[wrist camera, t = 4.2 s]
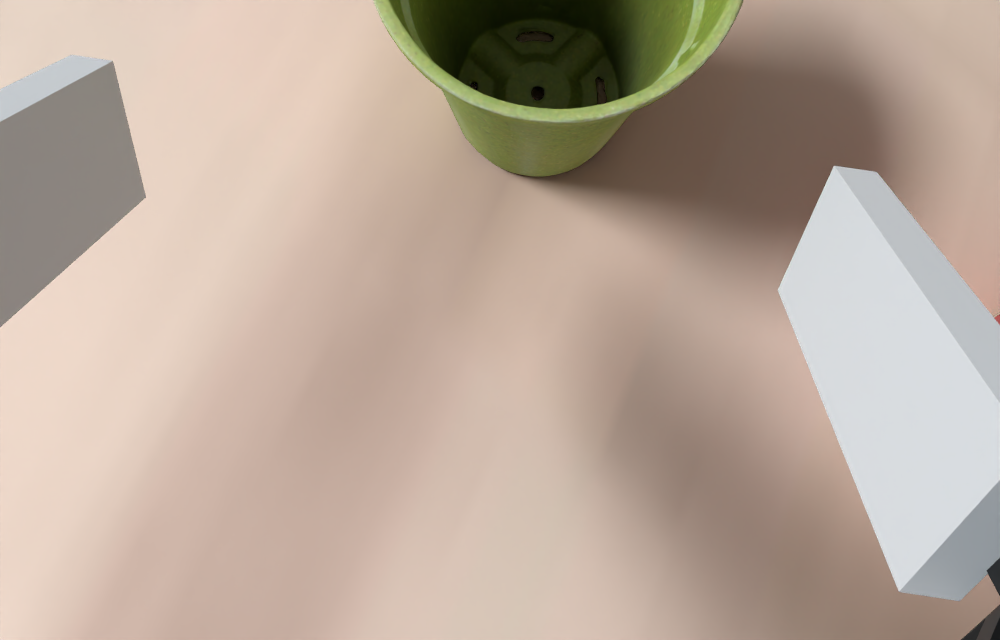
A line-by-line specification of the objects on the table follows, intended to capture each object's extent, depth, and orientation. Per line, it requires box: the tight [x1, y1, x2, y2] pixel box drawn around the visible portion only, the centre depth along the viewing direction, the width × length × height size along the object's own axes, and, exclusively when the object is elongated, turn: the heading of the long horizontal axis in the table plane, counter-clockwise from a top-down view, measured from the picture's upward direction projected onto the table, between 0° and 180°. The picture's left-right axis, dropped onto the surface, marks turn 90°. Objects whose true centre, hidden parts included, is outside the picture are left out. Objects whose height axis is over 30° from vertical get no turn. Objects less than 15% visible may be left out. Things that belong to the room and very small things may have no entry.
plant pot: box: [373, 0, 743, 176], centre depth 20 cm, size 9×9×9 cm
